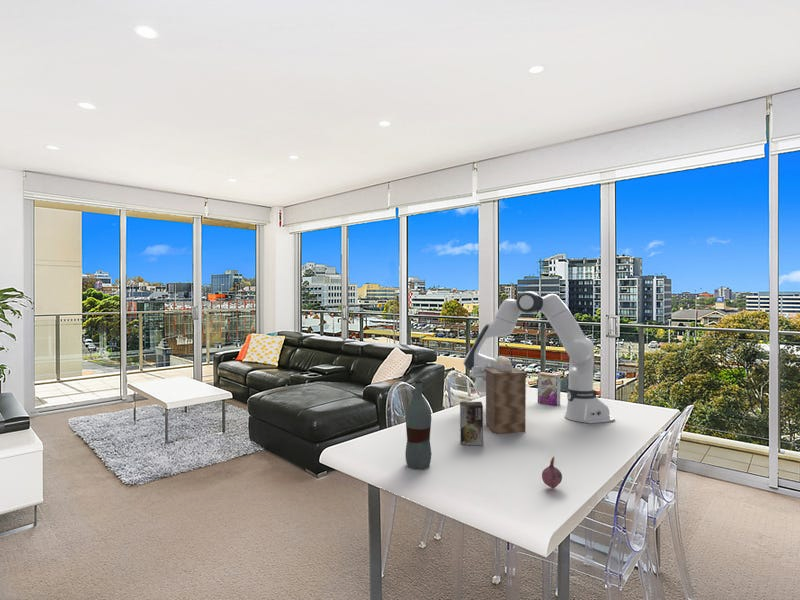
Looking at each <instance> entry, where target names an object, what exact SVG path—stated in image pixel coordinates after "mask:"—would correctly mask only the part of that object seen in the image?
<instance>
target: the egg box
mask: <svg viewBox="0 0 800 600" xmlns="http://www.w3.org/2000/svg"><path fill="white" fill-rule="evenodd" d="M491 366H492V367H494V368H496V369H498V370H500V371H502V372H512V366H513V364H512V363H511V360H510V358H508V357H506V356H504V355H499V356H497V358H494V359H491Z"/></svg>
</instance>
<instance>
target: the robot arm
mask: <svg viewBox="0 0 800 600" xmlns="http://www.w3.org/2000/svg"><path fill="white" fill-rule="evenodd" d="M537 312H540V313H542V314H543V315H544V316H545V318H546V320H547V321H548V323H549V324H550V325H551V327H552V329H553V330H554V332H555V334H556V335H557V337H558V339H559V340H560V342H561V344H562V346H563V348H564V350H565V352H566V354H567V356H568V357H569V366H568V378H567V379H568V387H567V392H566V393H567V394H566V395H567V396H566V397H567V405H566V410H565V414H564V418H565V419H567V420H569V421H570V420H571V421H574V422H581V423H585V424H597V423H606V422H607V423H609V422H615V421H616V419H615V417H614V416H612V415H611V414H610V409H609V407H608V405H607V404H605V403H604V402H603V401H602V400H600V399H599V398H598V397H599V396H601V394H602V392H600V391H599V390H595V389H594V362H595V359H594V358H595V346H594V345H595V344H594V343H593V341H592V340H591V338H589V337H586V335H585V333H584V332H583V329H582V328H581V327H580V325H579V323H578V321H577V320H576V319H575V316H574V315H573V314H572V312H571V311H570V309H569V308H568V306H567V305H566V304H565V303H564V302H563V300H562V299H561V298H560V296H558V295H557V294H555V293H549V294H546V295H544V296H541V295H540V294H538V293H536V292H535V291H532V290H531V291H523V292H521V293H520V294H519V295H518V297H517V298H516V299H513V298H506V299H504V300H503V301H502V302H501V304H500V306H499V307H498V310H497V311H496V314H495V317H494V319H493V320H492V321H491V322H490V323H486V324H485V325H484V327H483V328H482V329H481V331H480V333H479V334H478V336H477V337H476V339H475V341H474V343H473V345H472V347H470V350H469V351H468V352H467V354H466V355H465V357H464V359H463V366H464V367H465V368H466V370H468V371H471V372H469V374H468V376H469V377H471V378H473V379H475V380H474V388H475V390H477V391H478V392H481V393H486V371H485V369H491V368H494V367H492V366H491V359H495V358H493V357H491V356H488V355H485V354H482V353H480V350H481V348H482V346H483V345H484V343H485V342H486V340H487V339H490V338H496V337H498V338H499V337H500V338H501V337H502V338H503V337H506V336H509V335H511V334H513V332H514V331H515V327H516V325H517V323H518V320H519V318H520V316H521V315H522V314H524V313H526V314H536V313H537ZM512 368H514V366H513V365H512ZM597 396H598V397H597Z"/></svg>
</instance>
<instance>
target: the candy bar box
mask: <svg viewBox="0 0 800 600" xmlns="http://www.w3.org/2000/svg"><path fill="white" fill-rule="evenodd" d="M539 402H540V403H541V404H545V403H546V405H551V404H552V405H553V406H559V405H561V374H559V373H551V372H543V371H541V372H538V373H537V403H539ZM558 404H559V405H558ZM552 405H551V406H552Z"/></svg>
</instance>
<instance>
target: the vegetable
mask: <svg viewBox="0 0 800 600" xmlns="http://www.w3.org/2000/svg"><path fill="white" fill-rule="evenodd" d="M541 480H542V481H543V483H544V484H545V486H548V487H550V488H551V489H555V488H556V487H557V486H559V485H560V484H561V483H562V480H563V474H562V472H561V470H560V469H559V468H557V467H556V466H555V456H552V458H551V459H550V463H549V465H548V466H547V467H545V468H544V469H543V470H542V472H541Z"/></svg>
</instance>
